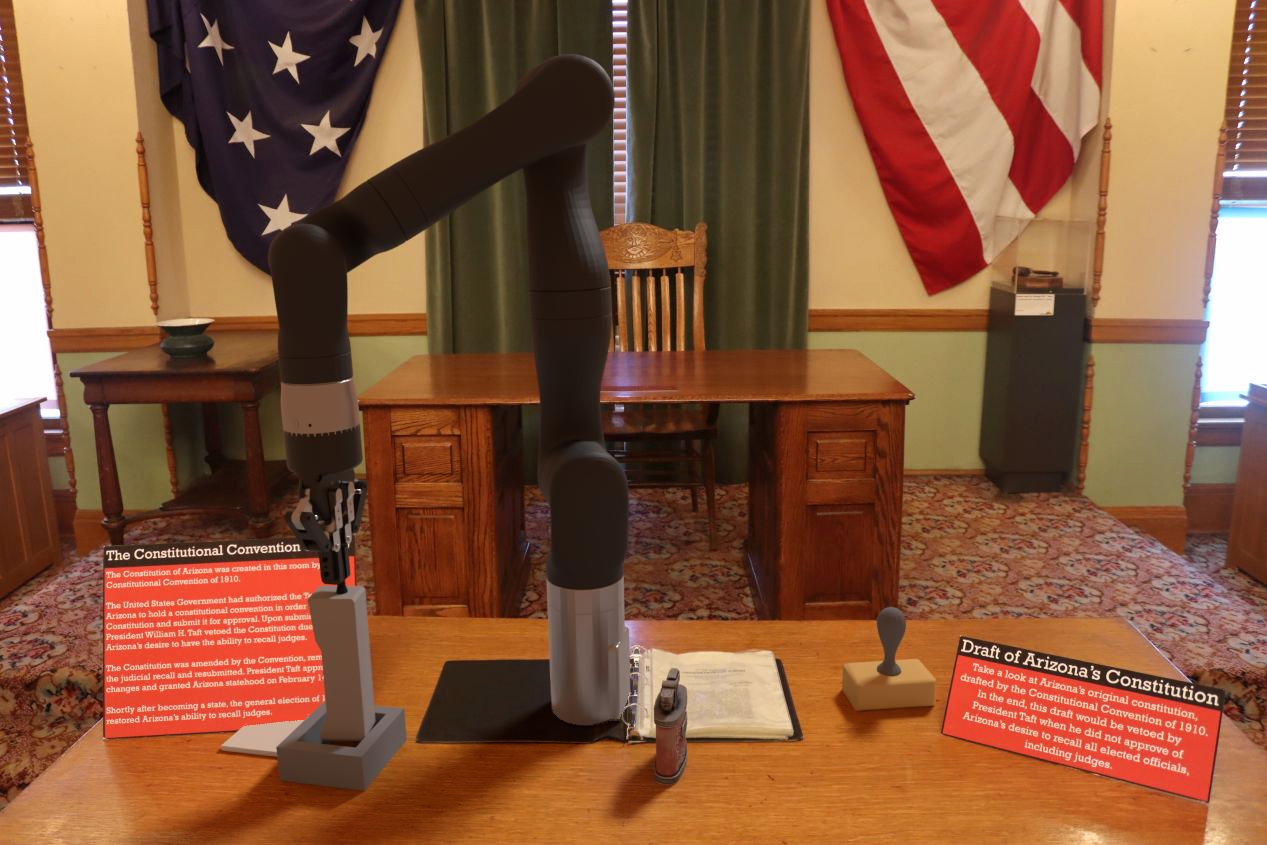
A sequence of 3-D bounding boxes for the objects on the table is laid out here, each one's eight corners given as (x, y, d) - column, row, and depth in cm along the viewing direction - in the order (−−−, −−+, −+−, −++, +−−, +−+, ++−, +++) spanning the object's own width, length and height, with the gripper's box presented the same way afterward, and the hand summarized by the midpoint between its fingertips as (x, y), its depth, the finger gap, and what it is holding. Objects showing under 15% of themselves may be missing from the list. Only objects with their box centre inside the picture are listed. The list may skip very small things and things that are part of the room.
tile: (322, 720, 112) (321, 716, 112) (284, 757, 104) (283, 752, 104) (263, 714, 113) (262, 709, 113) (221, 750, 106) (221, 745, 106)
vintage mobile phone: (332, 723, 104) (313, 512, 99) (375, 724, 104) (359, 512, 99) (320, 741, 101) (300, 524, 95) (365, 742, 101) (348, 524, 95)
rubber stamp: (916, 684, 118) (921, 596, 116) (935, 707, 113) (941, 615, 110) (841, 689, 117) (844, 600, 115) (856, 712, 112) (860, 620, 109)
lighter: (680, 786, 98) (680, 700, 95) (649, 783, 98) (648, 697, 96) (691, 744, 105) (691, 664, 103) (662, 741, 106) (661, 661, 104)
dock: (406, 739, 107) (404, 708, 106) (364, 790, 98) (361, 757, 97) (328, 731, 109) (325, 700, 108) (279, 780, 100) (276, 747, 99)
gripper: (319, 439, 88) (335, 609, 92) (385, 410, 101) (397, 560, 104) (249, 436, 89) (268, 603, 93) (323, 408, 102) (337, 556, 106)
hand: (336, 580), depth 99 cm, fingers closed on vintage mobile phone, 1 cm apart
